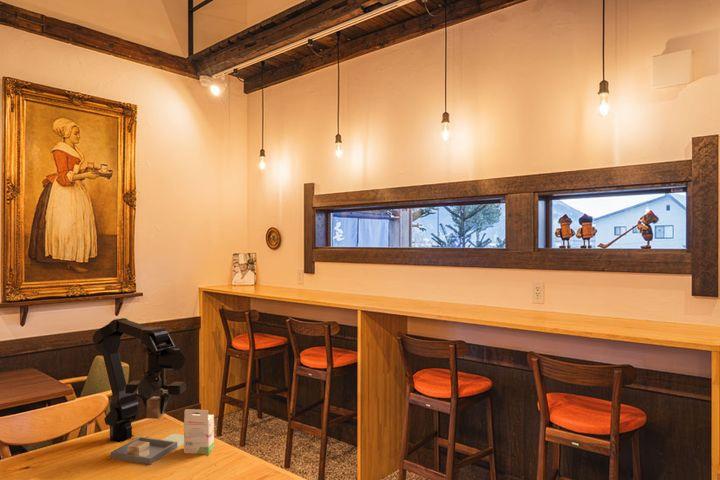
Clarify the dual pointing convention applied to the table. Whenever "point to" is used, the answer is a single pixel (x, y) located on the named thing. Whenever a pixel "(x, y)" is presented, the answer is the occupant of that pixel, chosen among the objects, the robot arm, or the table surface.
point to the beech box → (138, 448)
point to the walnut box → (154, 408)
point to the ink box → (198, 432)
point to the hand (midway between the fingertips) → (155, 413)
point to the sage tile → (176, 439)
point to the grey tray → (156, 451)
